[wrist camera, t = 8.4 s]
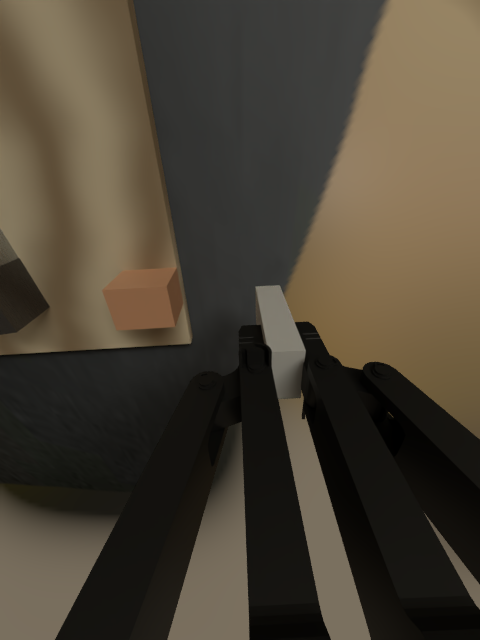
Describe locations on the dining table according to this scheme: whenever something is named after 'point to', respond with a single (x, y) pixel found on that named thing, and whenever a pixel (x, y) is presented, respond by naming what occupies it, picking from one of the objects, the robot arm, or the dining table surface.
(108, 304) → the orange block
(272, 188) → the dining table surface
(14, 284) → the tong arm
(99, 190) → the board
